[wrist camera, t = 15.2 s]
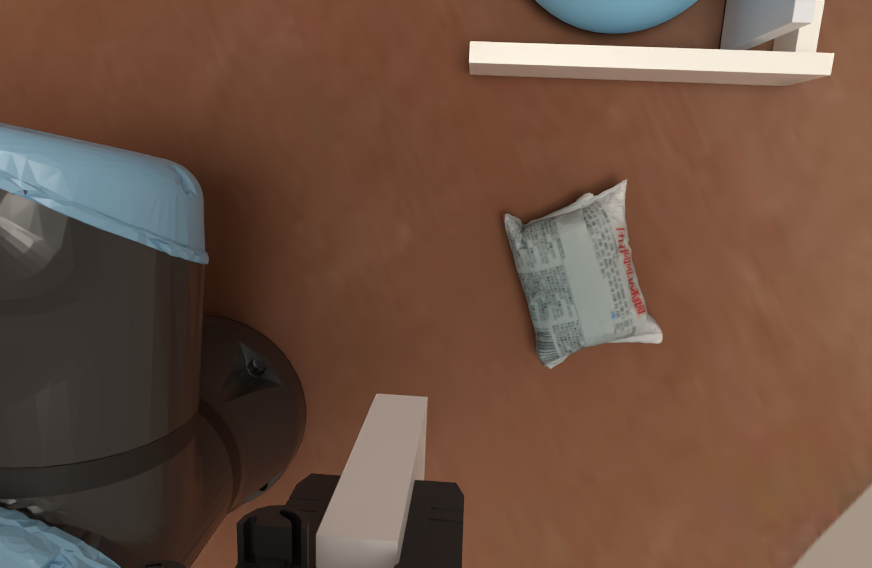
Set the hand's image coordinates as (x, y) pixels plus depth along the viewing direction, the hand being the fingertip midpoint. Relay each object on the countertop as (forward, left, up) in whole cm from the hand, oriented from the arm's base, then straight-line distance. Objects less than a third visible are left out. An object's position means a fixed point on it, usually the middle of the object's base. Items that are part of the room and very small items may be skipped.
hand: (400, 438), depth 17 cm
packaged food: (+10, 0, -27) cm, 29 cm away
